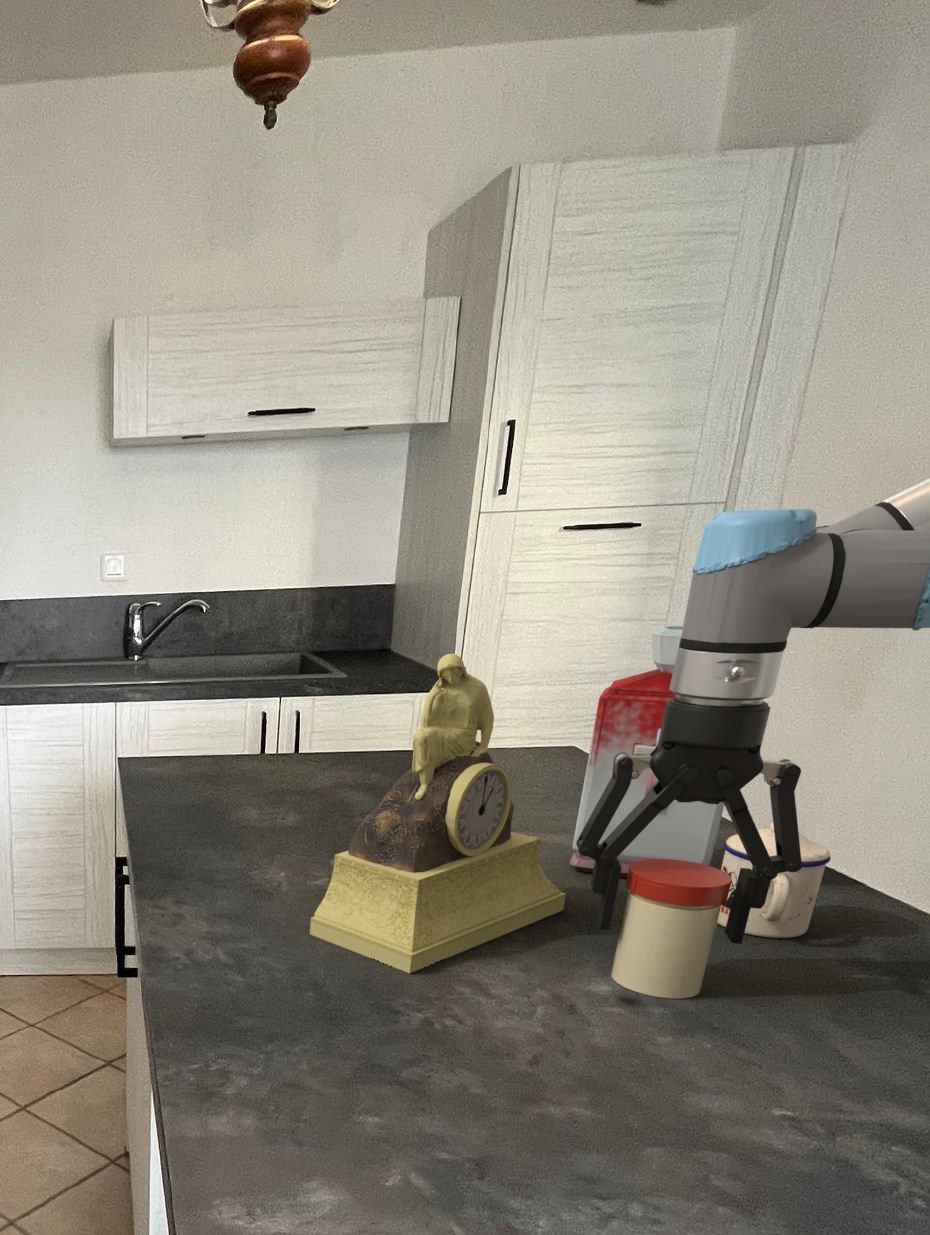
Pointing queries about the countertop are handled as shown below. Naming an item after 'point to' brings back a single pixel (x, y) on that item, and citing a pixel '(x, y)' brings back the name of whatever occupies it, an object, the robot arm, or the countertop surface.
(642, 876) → the lid
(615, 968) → the jar
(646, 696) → the bottle
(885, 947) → the countertop surface
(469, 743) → the decorative clock
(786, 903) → the teacup with lid
